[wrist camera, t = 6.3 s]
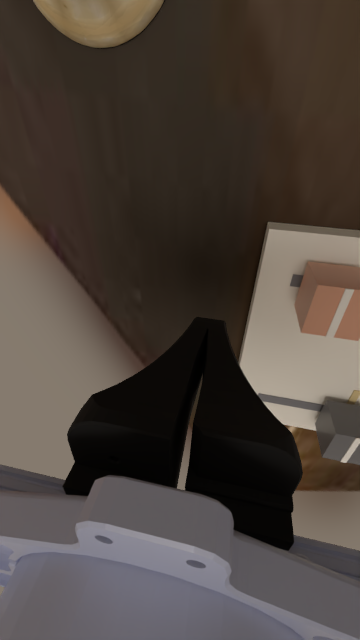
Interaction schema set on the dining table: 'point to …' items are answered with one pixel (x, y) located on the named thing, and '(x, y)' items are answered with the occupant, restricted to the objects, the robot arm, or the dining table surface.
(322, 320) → the fader terracotta
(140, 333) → the dining table surface
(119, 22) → the hand bell
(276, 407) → the console
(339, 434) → the fader charcoal
